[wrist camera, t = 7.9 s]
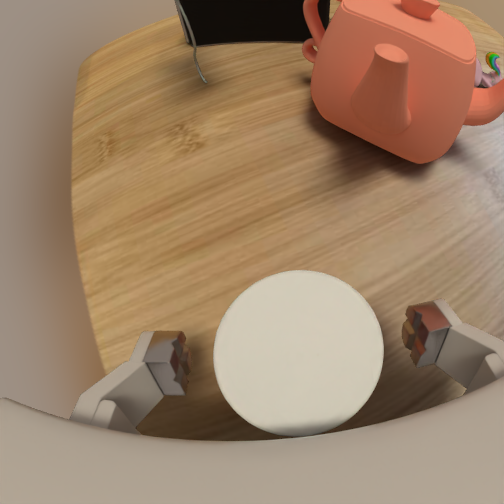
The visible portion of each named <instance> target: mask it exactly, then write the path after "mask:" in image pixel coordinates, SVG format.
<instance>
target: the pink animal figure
mask: <svg viewBox="0 0 504 504" xmlns="http://www.w3.org/2000/svg"><path fill="white" fill-rule="evenodd" d="M497 58H500V57H499V56H498V54H496V53H494V52H489V53H487V55H486V62H487V64H488V65H489V67H490V68H491V69H493V70H495V71H492V72H490V73H489V74H487V73H484V72H483V71H482V67H481V64H480V62H479V60H478V59H477V57H476V73H475V83H474V86H479V85H480V83H481V84H482V85H483V86H484V87H488V88H489V87H492V86H494V85H496V84H497V83H498V82H500V81H501V80H502V79H503V78H502V76H501V74H500V68H499V66H498V64H497V63H496V62H495V61H496V59H497Z"/></svg>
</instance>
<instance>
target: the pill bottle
mask: <svg viewBox="0 0 504 504" xmlns="http://www.w3.org/2000/svg"><path fill="white" fill-rule="evenodd" d="M383 357H384V345H383V337H382V331H381V328H380V325H379V322H378V320H377V318H376V315H375V313H374V311H373V310H372V308H371V307H370V305H369V304H368V302H367V301H366V300H365V299H364V298H363V296H362V295H361V294H360V293H358V292H357V291H356V290H355V289H354V288H353V287H351V286H350V285H348V284H347V283H345V282H344V281H342V280H340V279H338V278H336V277H334V276H331V275H328V274H325V273H321V272H317V271H309V270H292V271H285V272H281V273H277V274H274V275H271V276H268V277H266V278H264V279H262V280H260V281H258V282H256V283H254V284H253V285H251V286H250V287H249V288H247V289H246V290H245V291H244V292H242V293H241V294H240V295H239V296H238V297H237V298H236V299H235V300H234V301H233V303H232V304H231V305H230V307H229V308H228V310H227V311H226V313H225V314H224V316H223V318H222V320H221V322H220V325H219V327H218V330H217V333H216V337H215V342H214V352H213V362H214V370H215V374H216V378H217V382H218V385H219V387H220V390H221V392H222V394H223V395H224V397H225V399H226V400H227V402H228V403H229V404H230V405H231V407H232V408H233V409H234V410H235V411H236V413H237V414H239V415H240V416H241V417H242V418H243V419H245V420H246V421H247V422H249V423H250V424H252V425H254V426H255V427H257V428H260V429H262V430H264V431H266V432H269V433H273V434H276V435H281V436H292V437H300V436H309V435H315V434H319V433H323V432H326V431H328V430H331V429H333V428H335V427H337V426H339V425H341V424H342V423H344V422H346V421H347V420H348V419H349V418H351V417H352V416H353V415H355V414H356V413H357V412H358V411H359V409H360V408H361V407H362V406H363V405H364V404H365V403H366V401H367V400H368V399H369V397H370V396H371V394H372V392H373V391H374V389H375V387H376V384H377V382H378V380H379V377H380V373H381V370H382V365H383Z"/></svg>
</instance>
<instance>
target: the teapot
mask: <svg viewBox="0 0 504 504" xmlns="http://www.w3.org/2000/svg"><path fill="white" fill-rule="evenodd" d="M318 1H319V0H305V1H304V3H303V13H304V17H305V20H306V23H307V25H308V28H309V30H310V32H311V34H312V37H313V38H310V39H308V40H306V41H305V42H304V44H303V47H302V52H303V55H304V56H305V58H306V59H308V60H309V61H311V62H312V63H314V68H313V72H312V77H311V96H312V99H313V101H314V103H315V105H316V107H317V109H318V111H319V113H320V114H321V115H322V117H323V118H325V119H326V120H328V121H329V122H331V123H333V124H334V125H336V126H338V127H340V128H342V129H344V130H346V131H348V132H350V133H352V134H354V135H356V136H358V137H360V138H362V139H364V140H366V141H368V142H370V143H372V144H374V145H376V146H378V147H380V148H382V149H385V150H387V151H389V152H391V153H393V154H395V155H397V156H399V157H402V158H404V159H406V160H408V161H411V162H414V163H418V164H423V163H427V162H431V161H434V160H436V159H438V158H440V157H441V156H443V155H444V154H445V153H446V152H447V151H448V150H449V148H450V147H451V146H452V144H453V142H454V141H455V139H456V137H457V135H458V134H459V132H460V130H461V128H462V125H470V126H478V125H484V124H487V123H490V122H492V121H493V120H495V119H496V118H497V117H499V116H500V115H501V114H502V113H503V112H504V79H502V80H501V81H500V82H498V83H497V84H496V85H494V86H492V87H489V88H475V87H474V83H475V73H476V46H475V43H474V40H473V38H472V36H471V34H470V32H469V30H468V29H467V28H466V27H465V25H464V24H462V23H461V22H460V21H459V20H457V19H455V18H454V17H452V16H450V15H448V14H446V13H445V12H443V11H441V10H439V9H438V7H439V6H440V3H439V2H438V1H437V0H337V1H340V2H341V3H340V5H339V7H338V8H337V10H336V12H335V14H334V16H333V18H332V20H331V21H330V23H329V25H328V27H327V29H326V32H325V29H324V27H323V25H322V22H321V20H320V17H319V14H318V8H317V3H318ZM313 45H314V46H317V49H318V51H316V50H315V49H314V48H313Z"/></svg>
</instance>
